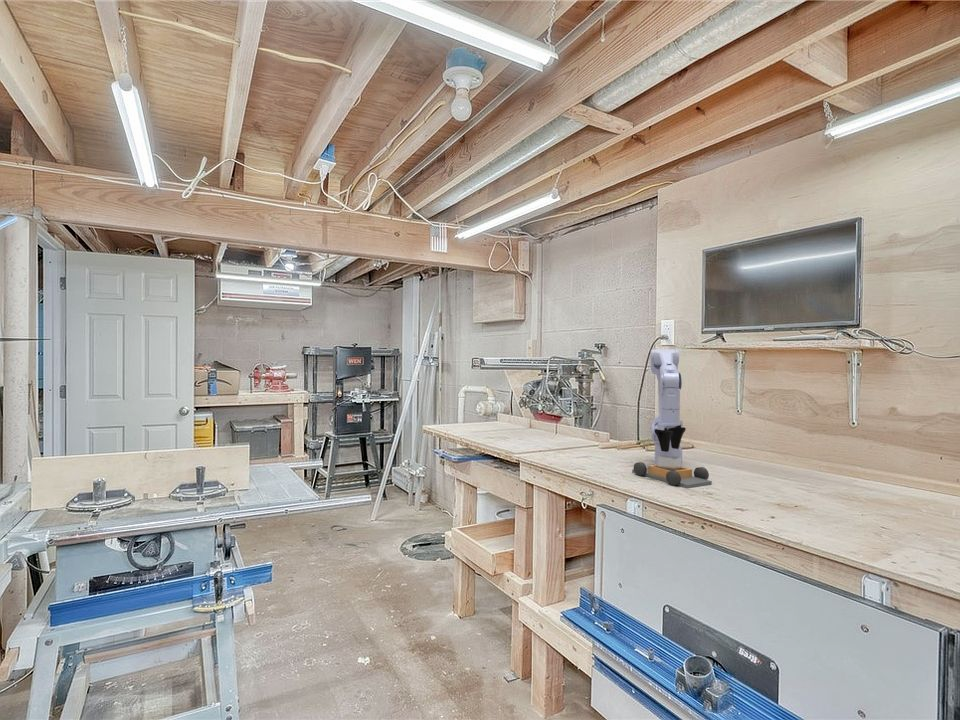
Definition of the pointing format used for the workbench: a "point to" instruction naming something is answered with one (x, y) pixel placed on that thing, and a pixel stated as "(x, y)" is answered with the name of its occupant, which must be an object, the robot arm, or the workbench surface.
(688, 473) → the chassis
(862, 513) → the workbench surface
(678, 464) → the engine block
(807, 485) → the workbench surface
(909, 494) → the workbench surface
